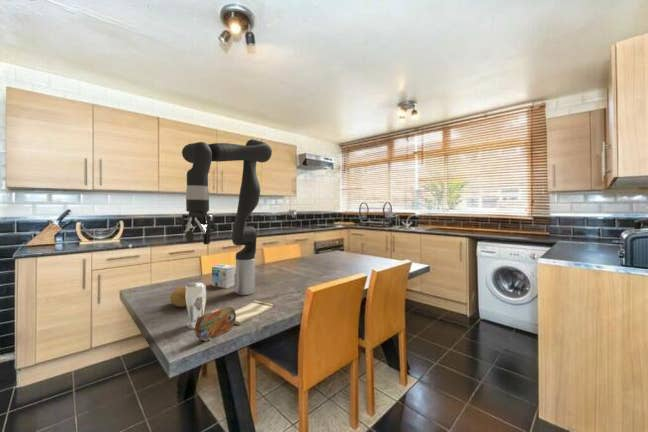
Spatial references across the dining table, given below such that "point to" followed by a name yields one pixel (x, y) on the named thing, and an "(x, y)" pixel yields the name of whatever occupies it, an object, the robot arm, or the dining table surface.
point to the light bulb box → (223, 275)
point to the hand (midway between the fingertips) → (198, 243)
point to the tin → (215, 323)
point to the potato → (179, 296)
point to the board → (251, 311)
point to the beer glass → (195, 302)
